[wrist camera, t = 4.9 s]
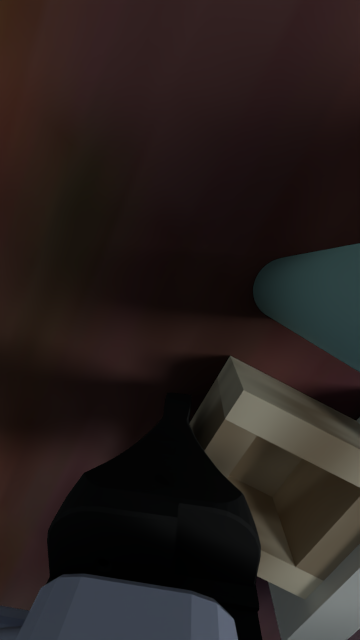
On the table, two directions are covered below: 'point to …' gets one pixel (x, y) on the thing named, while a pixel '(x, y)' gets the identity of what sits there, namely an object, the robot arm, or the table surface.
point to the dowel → (316, 298)
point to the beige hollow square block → (286, 472)
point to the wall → (322, 605)
